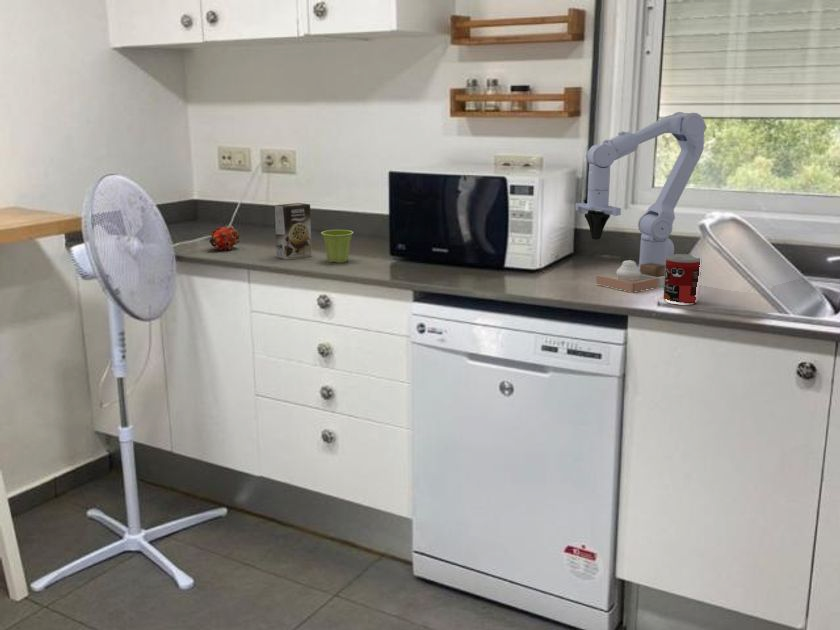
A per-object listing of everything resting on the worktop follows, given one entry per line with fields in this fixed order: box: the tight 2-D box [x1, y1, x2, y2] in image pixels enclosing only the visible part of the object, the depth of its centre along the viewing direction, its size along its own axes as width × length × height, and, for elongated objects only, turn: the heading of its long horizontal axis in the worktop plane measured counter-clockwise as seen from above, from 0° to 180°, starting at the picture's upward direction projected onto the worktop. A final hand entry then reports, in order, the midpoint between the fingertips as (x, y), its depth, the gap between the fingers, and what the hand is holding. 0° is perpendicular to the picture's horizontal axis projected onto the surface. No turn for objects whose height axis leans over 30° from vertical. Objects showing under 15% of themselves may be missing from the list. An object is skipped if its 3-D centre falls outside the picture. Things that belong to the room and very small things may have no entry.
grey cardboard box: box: [274, 202, 313, 261], centre depth 258 cm, size 9×6×16 cm
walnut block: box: [640, 263, 665, 277], centre depth 225 cm, size 4×4×4 cm
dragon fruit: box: [209, 224, 240, 252], centre depth 271 cm, size 8×8×12 cm
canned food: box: [663, 253, 700, 303], centre depth 202 cm, size 8×8×11 cm
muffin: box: [615, 259, 641, 282], centre depth 219 cm, size 6×6×7 cm
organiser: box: [595, 274, 665, 293], centre depth 223 cm, size 20×12×2 cm, turn 127°
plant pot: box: [320, 229, 354, 264], centre depth 253 cm, size 9×9×9 cm
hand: (596, 239), depth 235 cm, fingers closed
